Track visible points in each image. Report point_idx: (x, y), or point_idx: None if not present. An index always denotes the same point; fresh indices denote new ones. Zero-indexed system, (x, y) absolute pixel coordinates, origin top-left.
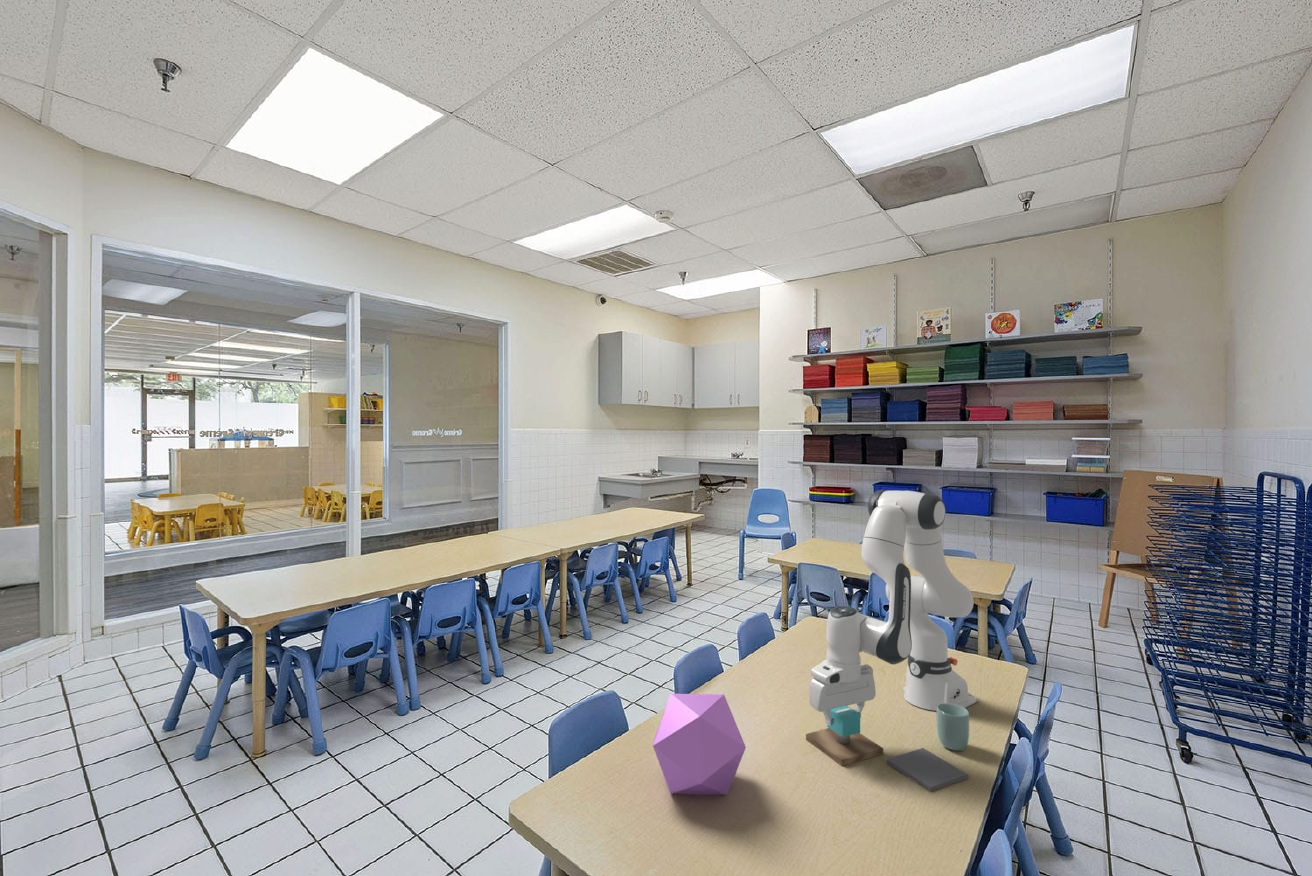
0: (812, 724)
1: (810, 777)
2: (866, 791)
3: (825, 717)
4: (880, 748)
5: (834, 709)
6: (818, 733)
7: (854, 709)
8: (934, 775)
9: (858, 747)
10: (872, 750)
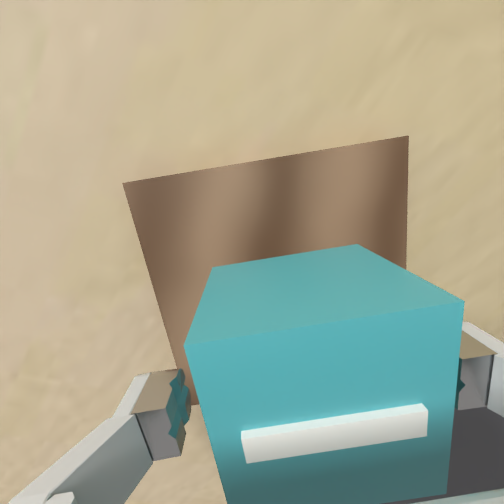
0: (248, 30)
1: (51, 416)
2: (196, 491)
3: (118, 410)
4: None
5: (256, 385)
6: (196, 195)
7: (489, 355)
8: (427, 499)
9: None
10: None
